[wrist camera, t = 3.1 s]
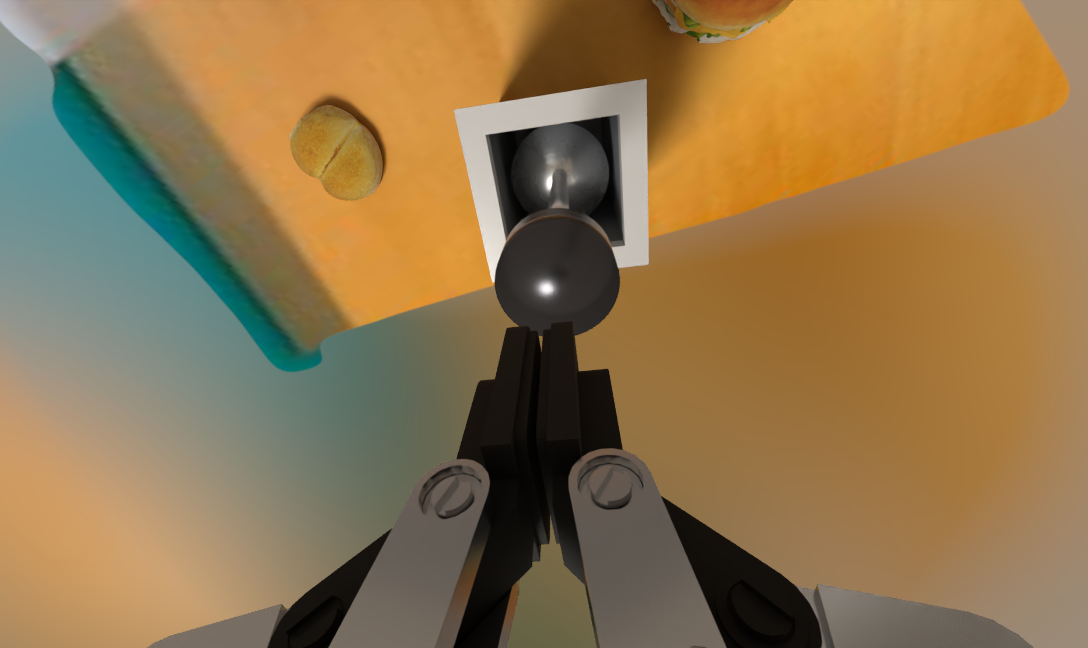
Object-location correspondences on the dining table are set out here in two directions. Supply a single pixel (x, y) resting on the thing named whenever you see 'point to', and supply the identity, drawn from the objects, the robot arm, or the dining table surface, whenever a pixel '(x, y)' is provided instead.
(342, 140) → the bread roll
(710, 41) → the burger
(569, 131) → the plunger
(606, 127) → the grey tall box
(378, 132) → the dining table surface
